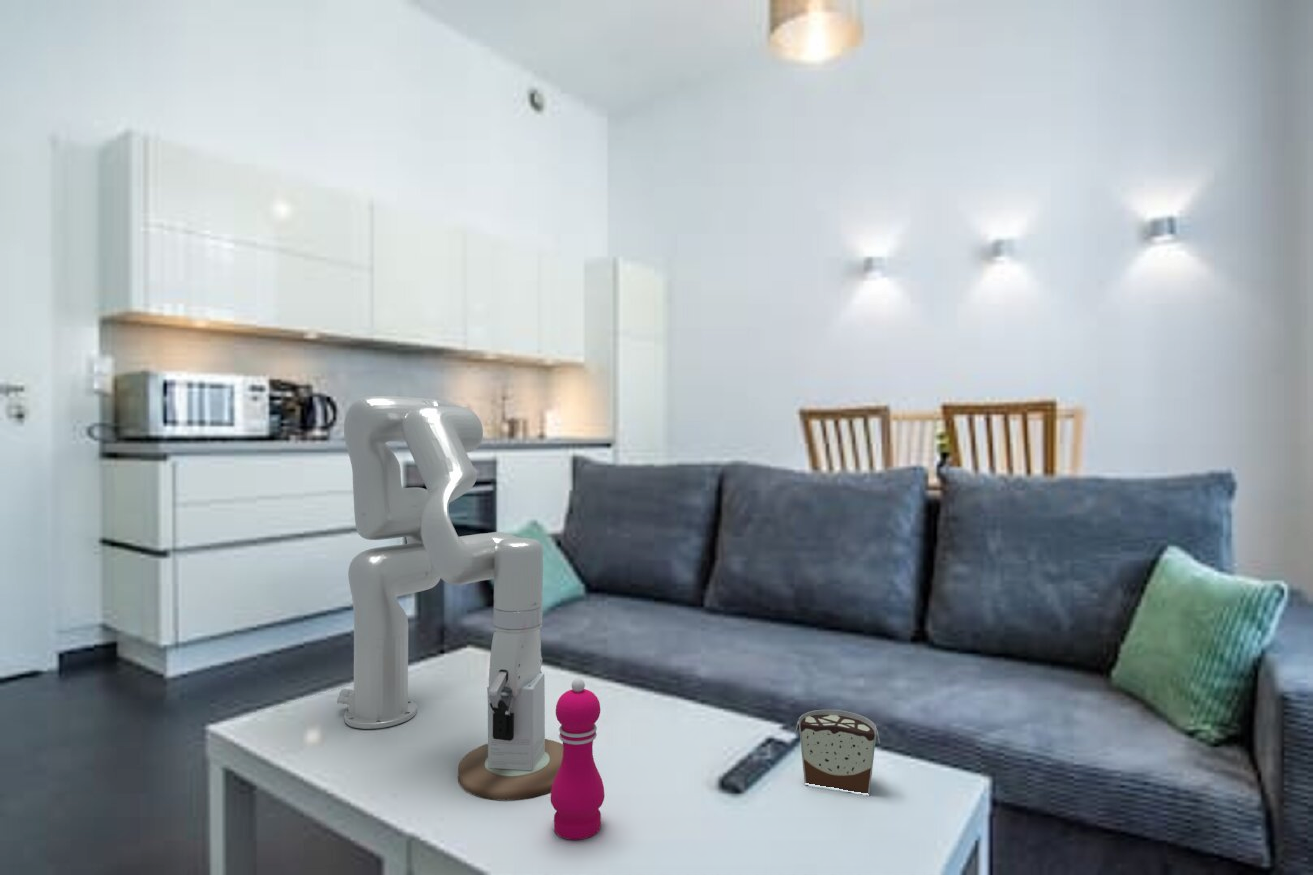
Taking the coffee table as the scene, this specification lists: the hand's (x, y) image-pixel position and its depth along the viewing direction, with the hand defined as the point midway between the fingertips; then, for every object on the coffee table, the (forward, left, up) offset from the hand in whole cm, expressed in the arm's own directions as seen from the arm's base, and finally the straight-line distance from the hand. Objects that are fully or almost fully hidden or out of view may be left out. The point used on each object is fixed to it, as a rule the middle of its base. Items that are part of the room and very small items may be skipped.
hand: (516, 726), depth 112 cm
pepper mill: (+15, -13, -7) cm, 21 cm away
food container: (+49, +9, -7) cm, 50 cm away
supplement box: (0, 0, -6) cm, 6 cm away
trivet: (0, 0, -7) cm, 7 cm away
